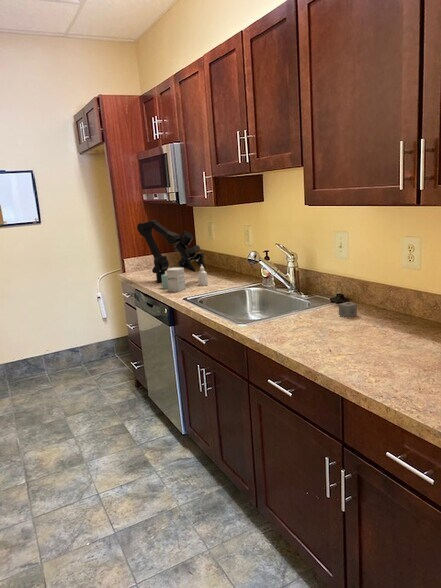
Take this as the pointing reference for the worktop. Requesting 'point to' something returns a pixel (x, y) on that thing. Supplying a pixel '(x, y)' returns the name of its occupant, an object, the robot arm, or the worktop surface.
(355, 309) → the dice cube
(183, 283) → the supplement box
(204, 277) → the eye dropper bottle
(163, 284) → the teal block
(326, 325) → the worktop surface
